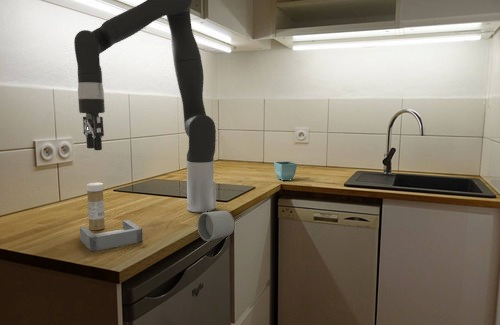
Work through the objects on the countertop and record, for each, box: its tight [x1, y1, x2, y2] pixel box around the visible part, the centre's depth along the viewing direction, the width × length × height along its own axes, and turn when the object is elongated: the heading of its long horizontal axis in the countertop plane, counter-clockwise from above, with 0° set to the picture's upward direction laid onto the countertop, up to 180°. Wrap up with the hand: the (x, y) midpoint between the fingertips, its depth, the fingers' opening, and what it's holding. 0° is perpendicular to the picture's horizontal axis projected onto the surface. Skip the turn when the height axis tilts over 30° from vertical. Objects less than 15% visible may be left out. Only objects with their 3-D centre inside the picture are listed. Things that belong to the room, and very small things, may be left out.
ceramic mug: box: [196, 210, 236, 242], centre depth 108 cm, size 11×8×8 cm
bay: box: [79, 219, 144, 253], centre depth 103 cm, size 13×10×4 cm
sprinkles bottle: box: [86, 182, 106, 231], centre depth 113 cm, size 5×5×13 cm
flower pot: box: [273, 161, 297, 181], centre depth 195 cm, size 9×9×9 cm
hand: (94, 149), depth 124 cm, fingers open, 8 cm apart
